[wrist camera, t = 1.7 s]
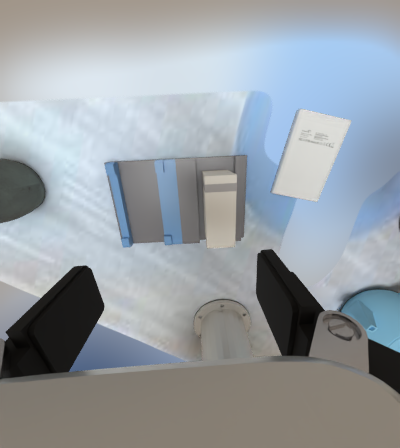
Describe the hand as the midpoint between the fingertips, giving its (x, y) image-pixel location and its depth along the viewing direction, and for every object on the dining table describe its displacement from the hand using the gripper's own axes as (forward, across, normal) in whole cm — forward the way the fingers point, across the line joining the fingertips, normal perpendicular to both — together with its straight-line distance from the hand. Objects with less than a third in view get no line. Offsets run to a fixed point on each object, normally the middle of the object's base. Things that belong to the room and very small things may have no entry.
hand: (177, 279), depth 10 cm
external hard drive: (+23, -20, -4) cm, 30 cm away
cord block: (+22, -4, +2) cm, 22 cm away
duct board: (+22, +2, +1) cm, 22 cm away
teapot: (+22, -37, +30) cm, 53 cm away
